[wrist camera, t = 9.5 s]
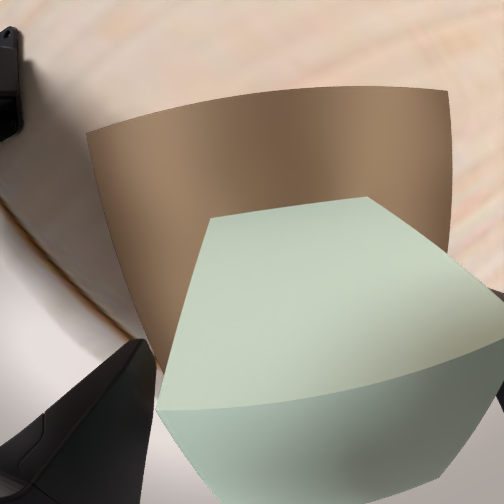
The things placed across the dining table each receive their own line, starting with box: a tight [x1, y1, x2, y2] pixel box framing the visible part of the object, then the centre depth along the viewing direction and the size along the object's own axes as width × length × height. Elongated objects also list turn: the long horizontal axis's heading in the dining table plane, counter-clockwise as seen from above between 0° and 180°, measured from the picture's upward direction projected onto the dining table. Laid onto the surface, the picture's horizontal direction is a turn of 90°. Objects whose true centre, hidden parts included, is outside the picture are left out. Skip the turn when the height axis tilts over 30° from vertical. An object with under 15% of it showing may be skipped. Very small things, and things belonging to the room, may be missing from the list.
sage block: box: [156, 197, 504, 504], centre depth 7 cm, size 5×5×7 cm
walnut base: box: [86, 86, 452, 374], centre depth 12 cm, size 12×12×4 cm
